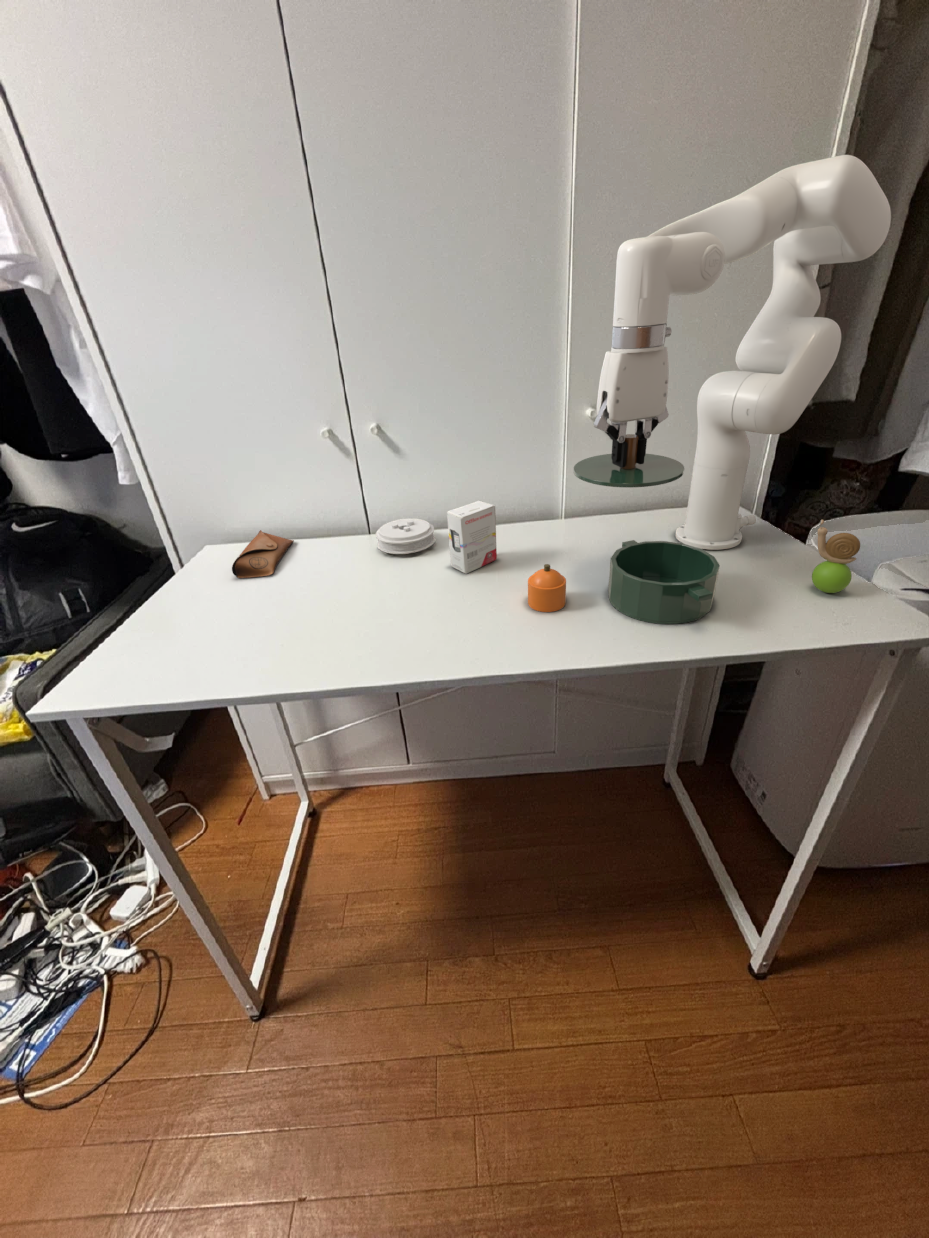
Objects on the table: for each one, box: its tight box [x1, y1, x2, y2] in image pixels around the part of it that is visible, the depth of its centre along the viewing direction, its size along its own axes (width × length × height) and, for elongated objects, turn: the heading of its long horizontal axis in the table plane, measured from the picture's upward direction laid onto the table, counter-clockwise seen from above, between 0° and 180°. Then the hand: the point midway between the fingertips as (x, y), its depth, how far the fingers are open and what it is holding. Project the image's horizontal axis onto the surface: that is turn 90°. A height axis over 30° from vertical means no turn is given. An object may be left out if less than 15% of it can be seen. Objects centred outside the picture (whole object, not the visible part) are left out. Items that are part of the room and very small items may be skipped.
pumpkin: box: [527, 563, 567, 613], centre depth 92 cm, size 6×6×7 cm
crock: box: [607, 539, 721, 625], centre depth 91 cm, size 17×22×7 cm
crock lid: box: [573, 433, 685, 488], centre depth 89 cm, size 18×18×6 cm
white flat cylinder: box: [375, 517, 436, 555], centre depth 118 cm, size 13×13×5 cm
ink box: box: [446, 500, 498, 575], centre depth 106 cm, size 9×5×12 cm, turn 129°
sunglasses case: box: [231, 529, 295, 579], centre depth 118 cm, size 18×7×7 cm
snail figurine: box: [811, 519, 861, 594], centre depth 88 cm, size 5×6×12 cm
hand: (627, 462), depth 90 cm, fingers closed on crock lid, 2 cm apart
